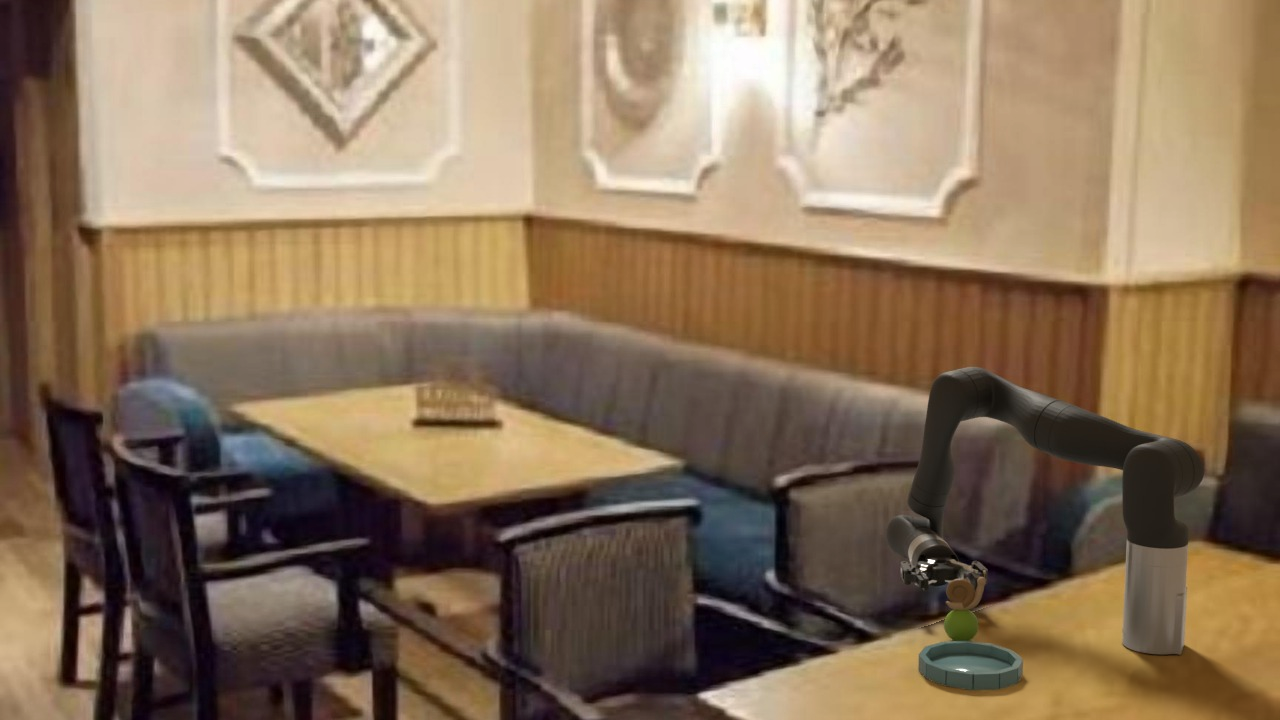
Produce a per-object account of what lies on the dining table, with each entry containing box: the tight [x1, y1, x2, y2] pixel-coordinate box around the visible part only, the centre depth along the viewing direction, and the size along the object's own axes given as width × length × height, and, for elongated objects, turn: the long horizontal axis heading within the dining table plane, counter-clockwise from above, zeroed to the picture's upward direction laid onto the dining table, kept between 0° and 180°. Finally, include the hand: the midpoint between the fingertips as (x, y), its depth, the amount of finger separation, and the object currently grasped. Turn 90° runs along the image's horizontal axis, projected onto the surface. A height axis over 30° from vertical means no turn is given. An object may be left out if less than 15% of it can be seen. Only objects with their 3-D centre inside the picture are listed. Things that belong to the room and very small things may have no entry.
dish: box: [918, 640, 1024, 691], centre depth 231 cm, size 15×15×2 cm
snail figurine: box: [943, 570, 987, 641], centre depth 245 cm, size 5×6×12 cm
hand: (952, 585), depth 254 cm, fingers open, 8 cm apart
